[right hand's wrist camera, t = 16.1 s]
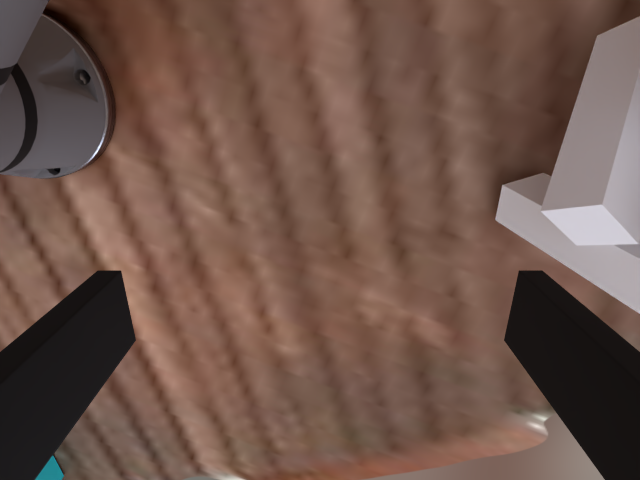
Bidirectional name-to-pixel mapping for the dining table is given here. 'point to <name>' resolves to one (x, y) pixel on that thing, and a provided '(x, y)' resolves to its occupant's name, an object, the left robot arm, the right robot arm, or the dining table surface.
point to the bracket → (51, 471)
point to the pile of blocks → (592, 176)
